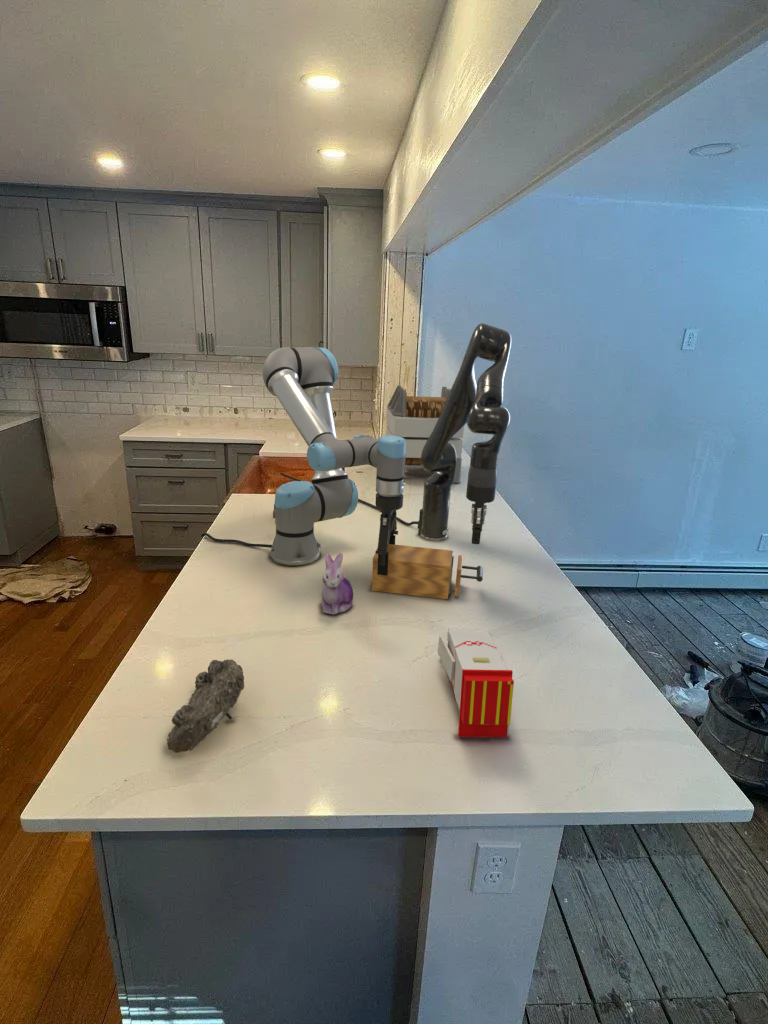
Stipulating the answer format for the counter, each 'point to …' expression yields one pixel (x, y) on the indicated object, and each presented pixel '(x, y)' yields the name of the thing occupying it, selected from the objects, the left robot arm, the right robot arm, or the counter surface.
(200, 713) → the fossil
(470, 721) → the toy
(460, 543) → the counter surface
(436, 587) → the cabinet
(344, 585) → the figurine
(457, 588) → the drawer
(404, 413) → the transformer
